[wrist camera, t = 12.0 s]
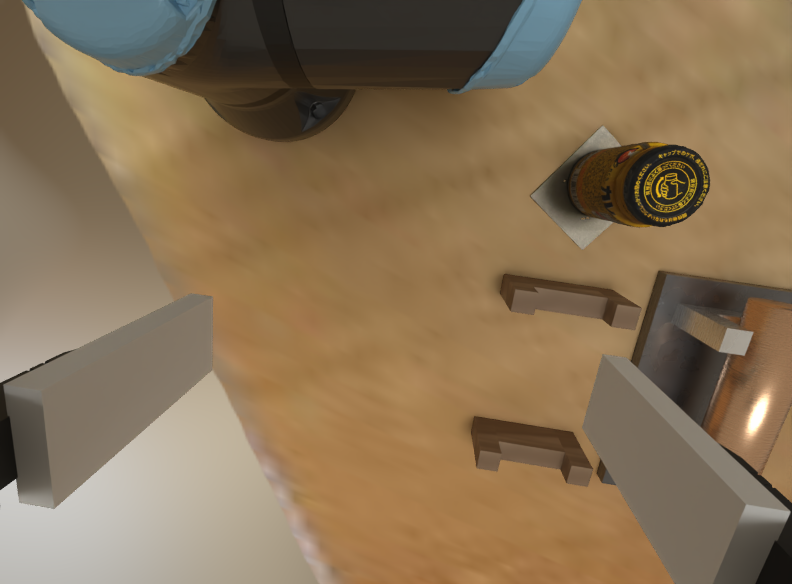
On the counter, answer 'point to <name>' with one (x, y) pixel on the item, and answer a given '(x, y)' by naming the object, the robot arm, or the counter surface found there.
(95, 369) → the robot arm
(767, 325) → the tube
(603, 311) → the walnut rack
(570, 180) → the condiment
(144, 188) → the counter surface
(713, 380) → the plate
